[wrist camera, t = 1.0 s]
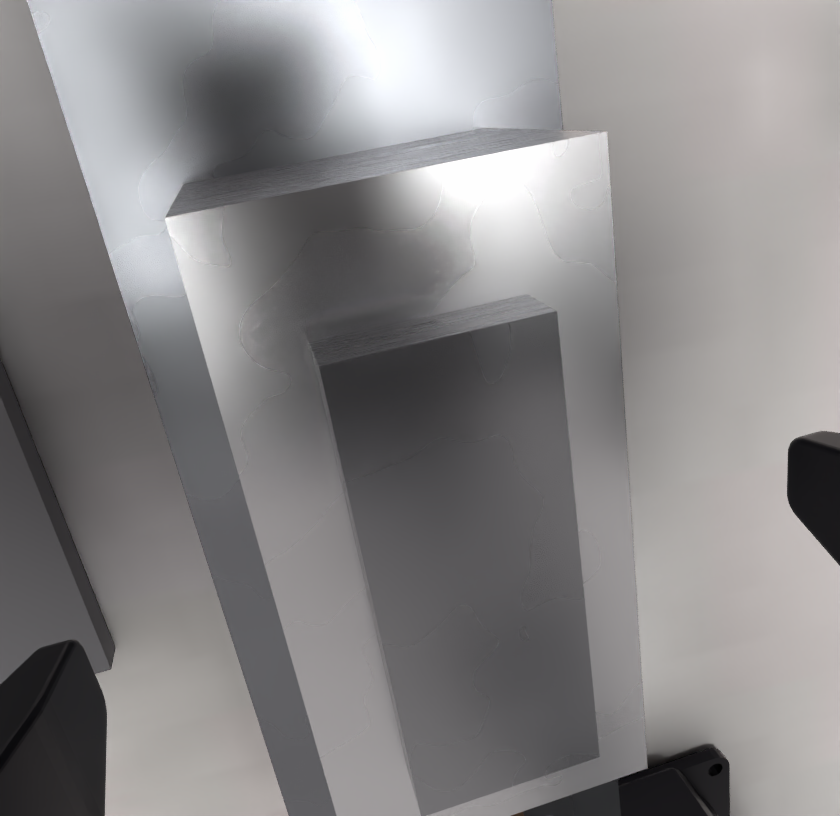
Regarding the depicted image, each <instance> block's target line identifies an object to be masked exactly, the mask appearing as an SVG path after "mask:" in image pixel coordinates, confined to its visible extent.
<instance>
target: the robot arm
mask: <svg viewBox="0 0 840 816" xmlns="http://www.w3.org/2000/svg"><path fill="white" fill-rule="evenodd" d="M787 497H788V501H789V504H790V507H791V509H792V510H793V512H794V513H795V515H796V516H797V517H798V518H799V519H800V521H801V522H802V523H803V524H804V525H805V526H806V527H807V529H808V530H809V531H810V532H811V533H812V534H813V536H814V537H815V538H816V539H817V540H818V541H819V542H820V544H821V545H822V546H823V547H824V548H825V549H826V550H827V552H828V553H829V554H830V555H831V556H832V557H833V558H834V560H835V561H836V562H837V563H838V564H839V565H840V433H835V432H827V431H821V432H815V433H812V434H808V435H805V436H801V437H798V438H796V439H794V440H793V441H792V442H791V443H790V446H789V449H788V476H787ZM106 737H107V710H106V703H105V699H104V695H103V693H102V690H101V688H100V685H99V683H98V681H97V678H96V676H95V673H94V671H93V668H92V666H91V664H90V661H89V659H88V656H87V654H86V652H85V649H84V647H83V646H82V645H81V643H80V642H79V641H77V640H74V639H71V640H66V641H62V642H59V643H55V644H52V645H48V646H44V647H41V648H39V649H37V650H36V651H35V652H34V653H33V654H32V655H31V656H30V657H29V658H28V659H27V660H25V661H24V662H23V663H22V664H21V665H20V666H19V667H18V668H17V669H16V670H15V671H14V672H13V673H12V674H11V675H10V676H9V677H8V678H7V679H5V680H4V681H3V682H2V683H1V684H0V816H105V781H106ZM618 787H619V798H620V810H621V816H730V794H729V762H728V760H727V759H726V758H725V756H724V755H723V754H722V752H721V751H720V750H718V749H716V748H710V749H706V750H703V751H701V752H698V753H695V754H692V755H689V756H686V757H683V758H680V759H677V760H675V761H672V762H669V763H666V764H663V765H660V766H657V767H654V768H651V769H649V770H646V771H643V772H640V773H637V774H634V775H631V776H628V777H625V778H623V779H620V780H618Z"/></svg>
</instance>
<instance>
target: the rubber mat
mask: <svg viewBox="0 0 840 816" xmlns="http://www.w3.org/2000/svg"><path fill="white" fill-rule="evenodd" d="M71 639H74V640H77V641H79V642H80V643H81V645H82V646H83V647H84V649H85V652H86V654H87V656H88V659H89V661H90V664H91V666H92V668H93V671H94V673H95V674H96V673H100V672H103V671H107V670H110V669H111V667H112V662H113V657H114V652H115V646H114V643H113V641H112V638H111V636H110V633H109V631H108V628H107V626H106V623H105V621H104V618H103V616H102V613H101V611H100V608H99V606H98V603H97V601H96V598H95V596H94V593H93V591H92V588H91V585H90V583H89V580H88V578H87V575H86V573H85V570H84V568H83V565H82V563H81V560H80V558H79V555H78V553H77V550H76V548H75V545H74V543H73V540H72V538H71V535H70V533H69V530H68V528H67V525H66V523H65V520H64V518H63V515H62V513H61V510H60V508H59V505H58V502H57V500H56V497H55V495H54V492H53V490H52V487H51V485H50V482H49V480H48V477H47V475H46V472H45V470H44V467H43V465H42V462H41V460H40V457H39V455H38V452H37V450H36V447H35V445H34V442H33V440H32V437H31V435H30V432H29V430H28V427H27V425H26V422H25V419H24V417H23V414H22V412H21V409H20V407H19V404H18V402H17V399H16V397H15V394H14V392H13V389H12V387H11V384H10V382H9V379H8V377H7V374H6V372H5V369H4V367H3V364H2V362H1V359H0V684H1V683H2V682H3V681H4V680H5V679H7V678H8V677H9V676H10V675H11V674H12V673H13V672H14V671H15V670H16V669H17V668H18V667H19V666H20V665H21V664H22V663H23V662H24V661H25V660H27V659H28V658H29V657H30V656H31V655H32V654H33V653H34V652H35V651H36V650H37V649H39V648H41V647H44V646H48V645H52V644H55V643H59V642H62V641H66V640H71Z"/></svg>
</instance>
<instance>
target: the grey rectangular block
mask: <svg viewBox="0 0 840 816" xmlns="http://www.w3.org/2000/svg"><path fill="white" fill-rule="evenodd" d="M165 221H166V224H167V228H168V231H169V235H170V238H171V242H172V245H173V249H174V252H175V256H176V259H177V262H178V266H179V269H180V273H181V276H182V280H183V283H184V287H185V290H186V294H187V297H188V301H189V304H190V308H191V311H192V315H193V318H194V322H195V325H196V329H197V332H198V336H199V339H200V342H201V346H202V349H203V353H204V356H205V360H206V363H207V367H208V370H209V374H210V377H211V381H212V384H213V388H214V391H215V395H216V398H217V402H218V405H219V409H220V412H221V416H222V419H223V423H224V426H225V429H226V433H227V436H228V440H229V443H230V447H231V450H232V454H233V457H234V461H235V464H236V468H237V471H238V475H239V478H240V482H241V485H242V489H243V492H244V496H245V499H246V503H247V506H248V509H249V513H250V516H251V520H252V523H253V527H254V530H255V534H256V537H257V541H258V544H259V548H260V551H261V555H262V558H263V562H264V565H265V569H266V572H267V576H268V579H269V583H270V586H271V590H272V593H273V596H274V600H275V603H276V607H277V610H278V614H279V617H280V621H281V624H282V628H283V631H284V635H285V638H286V642H287V645H288V649H289V652H290V656H291V659H292V663H293V666H294V670H295V673H296V676H297V680H298V683H299V687H300V690H301V694H302V697H303V701H304V704H305V708H306V711H307V715H308V718H309V722H310V725H311V729H312V732H313V736H314V739H315V743H316V746H317V750H318V753H319V757H320V760H321V763H322V767H323V770H324V774H325V777H326V781H327V784H328V788H329V791H330V795H331V798H332V802H333V805H334V809H335V812H336V816H511V815H514V814H517V813H520V812H523V811H526V810H529V809H532V808H534V807H537V806H540V805H543V804H546V803H549V802H552V801H555V800H558V799H560V798H563V797H566V796H569V795H572V794H575V793H578V792H581V791H584V790H586V789H589V788H592V787H595V786H598V785H601V784H604V783H607V782H610V781H612V780H615V779H618V778H621V777H624V776H627V775H630V774H633V773H636V772H639V771H641V770H644V769H647V768H648V767H647V751H646V735H645V719H644V704H643V688H642V672H641V656H640V641H639V625H638V609H637V593H636V578H635V562H634V546H633V530H632V515H631V499H630V483H629V467H628V452H627V436H626V420H625V404H624V388H623V373H622V357H621V341H620V325H619V310H618V294H617V278H616V262H615V247H614V231H613V215H612V199H611V184H610V168H609V152H608V136H607V131H575V130H541V129H507V128H481V129H476V130H470V131H465V132H460V133H454V134H449V135H444V136H439V137H433V138H428V139H423V140H417V141H412V142H407V143H401V144H396V145H391V146H386V147H380V148H375V149H370V150H364V151H359V152H354V153H349V154H343V155H338V156H333V157H327V158H322V159H317V160H312V161H306V162H301V163H296V164H290V165H285V166H280V167H274V168H269V169H264V170H259V171H253V172H248V173H243V174H237V175H232V176H227V177H222V178H216V179H211V180H206V181H200V182H195V183H190V184H184V185H182V187H181V189H180V191H179V193H178V194H177V196H176V198H175V200H174V202H173V204H172V205H171V207H170V209H169V211H168V213H167V214H166V216H165Z"/></svg>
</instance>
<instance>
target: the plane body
mask: <svg viewBox="0 0 840 816" xmlns="http://www.w3.org/2000/svg"><path fill="white" fill-rule="evenodd" d="M27 3H28V6H29V9H30V12H31V15H32V18H33V21H34V24H35V27H36V31H37V34H38V37H39V40H40V43H41V46H42V49H43V52H44V55H45V59H46V62H47V65H48V68H49V71H50V74H51V77H52V80H53V83H54V87H55V90H56V93H57V96H58V99H59V102H60V105H61V108H62V111H63V115H64V118H65V121H66V124H67V127H68V130H69V133H70V136H71V139H72V143H73V146H74V149H75V152H76V155H77V158H78V161H79V164H80V167H81V171H82V174H83V177H84V180H85V183H86V186H87V189H88V192H89V195H90V199H91V202H92V205H93V208H94V211H95V214H96V217H97V220H98V223H99V227H100V230H101V233H102V236H103V239H104V242H105V245H106V248H107V251H108V255H109V258H110V261H111V264H112V267H113V270H114V273H115V276H116V279H117V283H118V286H119V289H120V292H121V295H122V298H123V301H124V304H125V307H126V311H127V314H128V317H129V320H130V323H131V326H132V329H133V332H134V335H135V339H136V342H137V345H138V348H139V351H140V354H141V357H142V360H143V363H144V367H145V370H146V373H147V376H148V379H149V382H150V385H151V388H152V391H153V395H154V398H155V401H156V404H157V407H158V410H159V413H160V416H161V419H162V423H163V426H164V429H165V432H166V435H167V438H168V441H169V444H170V447H171V451H172V454H173V457H174V460H175V463H176V466H177V469H178V472H179V475H180V479H181V482H182V485H183V488H184V491H185V494H186V497H187V500H188V503H189V507H190V510H191V513H192V516H193V519H194V522H195V525H196V528H197V531H198V535H199V538H200V541H201V544H202V547H203V550H204V553H205V556H206V559H207V563H208V566H209V569H210V572H211V575H212V578H213V581H214V584H215V587H216V591H217V594H218V597H219V600H220V603H221V606H222V609H223V612H224V615H225V619H226V622H227V625H228V628H229V631H230V634H231V637H232V640H233V643H234V647H235V650H236V653H237V656H238V659H239V662H240V665H241V668H242V671H243V675H244V678H245V681H246V684H247V687H248V690H249V693H250V696H251V699H252V703H253V706H254V709H255V712H256V715H257V718H258V721H259V724H260V728H261V731H262V734H263V737H264V740H265V743H266V746H267V749H268V752H269V756H270V759H271V762H272V765H273V768H274V771H275V774H276V777H277V780H278V784H279V787H280V790H281V793H282V796H283V799H284V802H285V805H286V808H287V812H288V815H289V816H336V812H335V809H334V805H333V802H332V798H331V795H330V791H329V788H328V784H327V781H326V777H325V774H324V770H323V767H322V763H321V760H320V757H319V753H318V750H317V746H316V743H315V739H314V736H313V732H312V729H311V725H310V722H309V718H308V715H307V711H306V708H305V704H304V701H303V697H302V694H301V690H300V687H299V683H298V680H297V676H296V673H295V670H294V666H293V663H292V659H291V656H290V652H289V649H288V645H287V642H286V638H285V635H284V631H283V628H282V624H281V621H280V617H279V614H278V610H277V607H276V603H275V600H274V596H273V593H272V590H271V586H270V583H269V579H268V576H267V572H266V569H265V565H264V562H263V558H262V555H261V551H260V548H259V544H258V541H257V537H256V534H255V530H254V527H253V523H252V520H251V516H250V513H249V509H248V506H247V503H246V499H245V496H244V492H243V489H242V485H241V482H240V478H239V475H238V471H237V468H236V464H235V461H234V457H233V454H232V450H231V447H230V443H229V440H228V436H227V433H226V429H225V426H224V423H223V419H222V416H221V412H220V409H219V405H218V402H217V398H216V395H215V391H214V388H213V384H212V381H211V377H210V374H209V370H208V367H207V363H206V360H205V356H204V353H203V349H202V346H201V342H200V339H199V336H198V332H197V329H196V325H195V322H194V318H193V315H192V311H191V308H190V304H189V301H188V297H187V294H186V290H185V287H184V283H183V280H182V276H181V273H180V269H179V266H178V262H177V259H176V256H175V252H174V249H173V245H172V242H171V238H170V235H169V231H168V228H167V224H166V221H165V216H166V214H167V213H168V211H169V209H170V207H171V205H172V204H173V202H174V200H175V198H176V196H177V194H178V193H179V191H180V189H181V187H182V185H184V184H190V183H195V182H200V181H206V180H211V179H216V178H222V177H227V176H232V175H237V174H243V173H248V172H253V171H259V170H264V169H269V168H274V167H280V166H285V165H290V164H296V163H301V162H306V161H312V160H317V159H322V158H327V157H333V156H338V155H343V154H349V153H354V152H359V151H364V150H370V149H375V148H380V147H386V146H391V145H396V144H401V143H407V142H412V141H417V140H423V139H428V138H433V137H439V136H444V135H449V134H454V133H460V132H465V131H470V130H476V129H481V128H507V129H541V130H563V125H562V113H561V101H560V89H559V77H558V66H557V54H556V42H555V30H554V18H553V6H552V0H27ZM511 816H621V810H620V798H619V787H618V779H615V780H612V781H610V782H607V783H604V784H601V785H598V786H595V787H592V788H589V789H586V790H584V791H581V792H578V793H575V794H572V795H569V796H566V797H563V798H560V799H558V800H555V801H552V802H549V803H546V804H543V805H540V806H537V807H534V808H532V809H529V810H526V811H523V812H520V813H517V814H514V815H511Z"/></svg>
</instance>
